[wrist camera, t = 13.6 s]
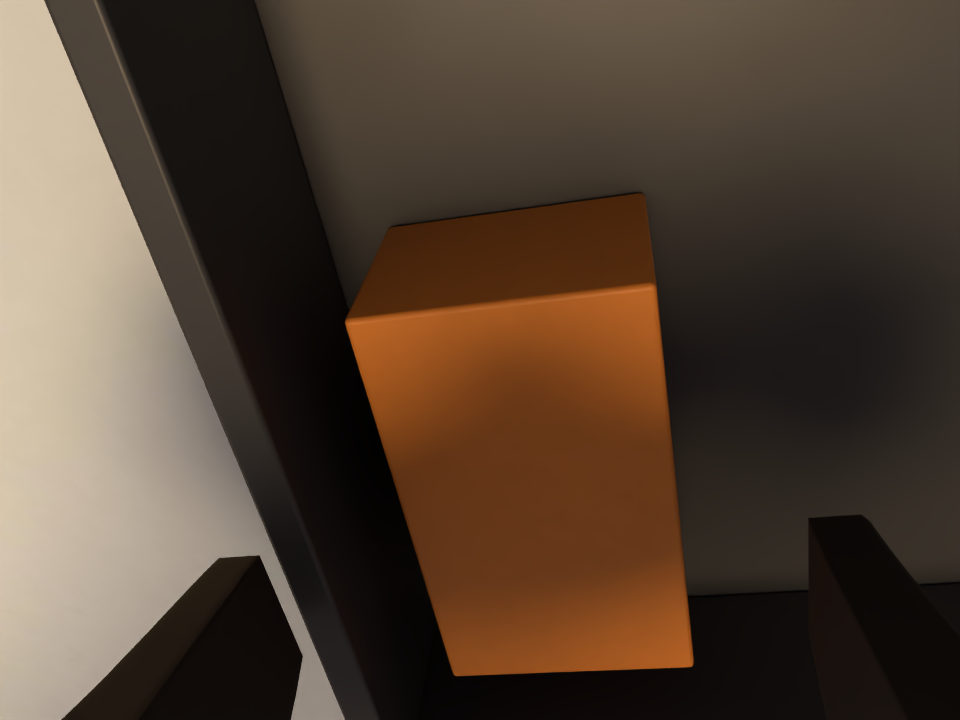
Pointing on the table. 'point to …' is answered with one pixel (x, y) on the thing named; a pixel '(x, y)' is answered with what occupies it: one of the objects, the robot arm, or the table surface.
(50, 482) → the table surface
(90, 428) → the table surface
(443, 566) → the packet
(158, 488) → the table surface
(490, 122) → the bin
